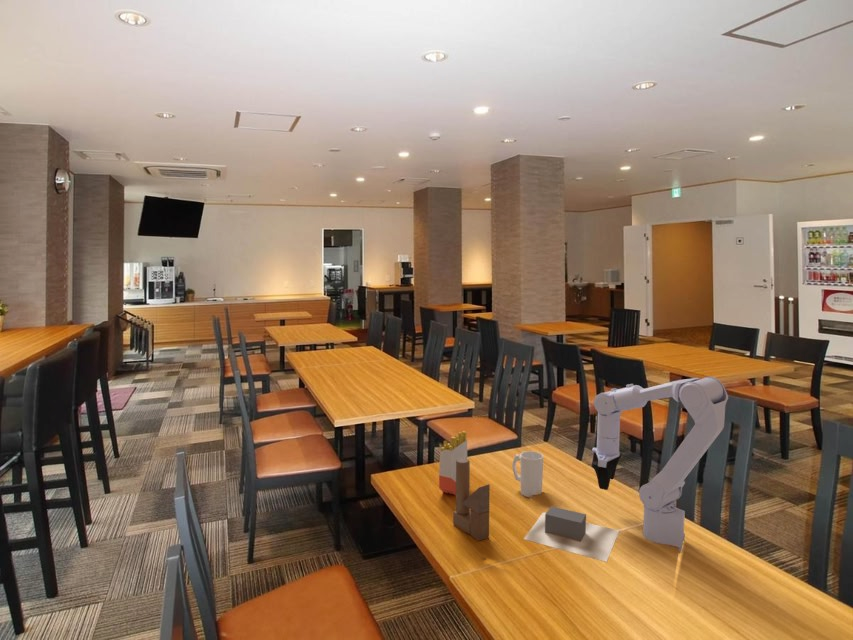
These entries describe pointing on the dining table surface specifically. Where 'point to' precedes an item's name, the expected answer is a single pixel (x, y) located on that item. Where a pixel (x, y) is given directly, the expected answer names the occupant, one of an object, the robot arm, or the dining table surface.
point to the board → (592, 544)
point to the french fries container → (451, 462)
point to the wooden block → (471, 504)
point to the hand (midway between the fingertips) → (606, 483)
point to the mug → (529, 472)
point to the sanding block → (565, 523)
